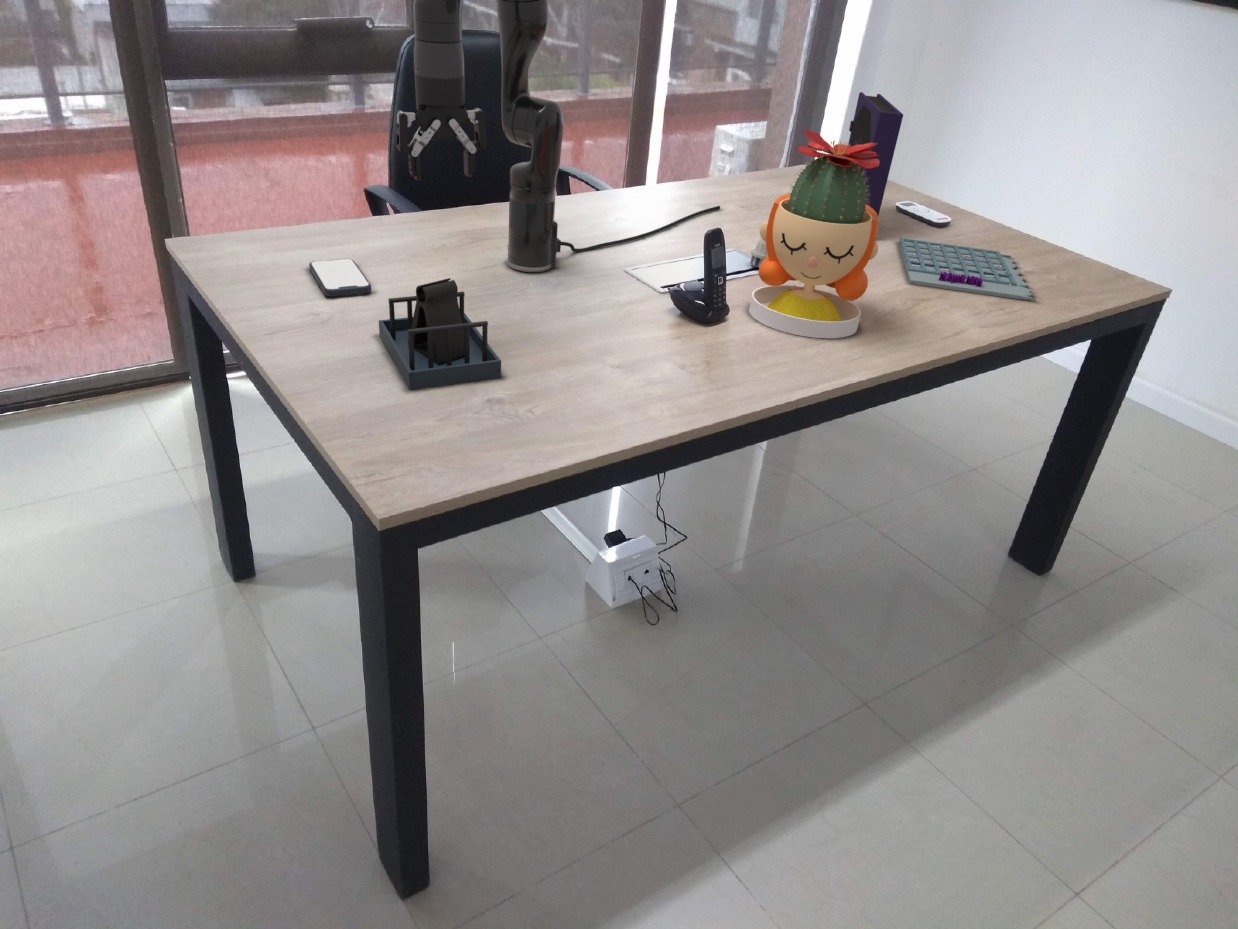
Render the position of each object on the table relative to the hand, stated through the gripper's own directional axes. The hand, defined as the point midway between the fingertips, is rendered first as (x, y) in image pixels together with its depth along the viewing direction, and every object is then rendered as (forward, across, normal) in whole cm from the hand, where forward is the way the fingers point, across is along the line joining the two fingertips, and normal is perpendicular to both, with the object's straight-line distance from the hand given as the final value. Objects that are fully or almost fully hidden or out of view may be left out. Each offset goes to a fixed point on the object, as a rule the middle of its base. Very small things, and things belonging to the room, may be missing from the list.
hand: (443, 176), depth 148 cm
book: (+30, +117, +32) cm, 125 cm away
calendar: (+29, +123, -2) cm, 126 cm away
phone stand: (+25, -5, -12) cm, 28 cm away
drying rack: (+26, -5, -12) cm, 29 cm away
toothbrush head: (+29, +85, +13) cm, 91 cm away
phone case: (+27, -14, +24) cm, 39 cm away
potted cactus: (+28, +69, -14) cm, 75 cm away
